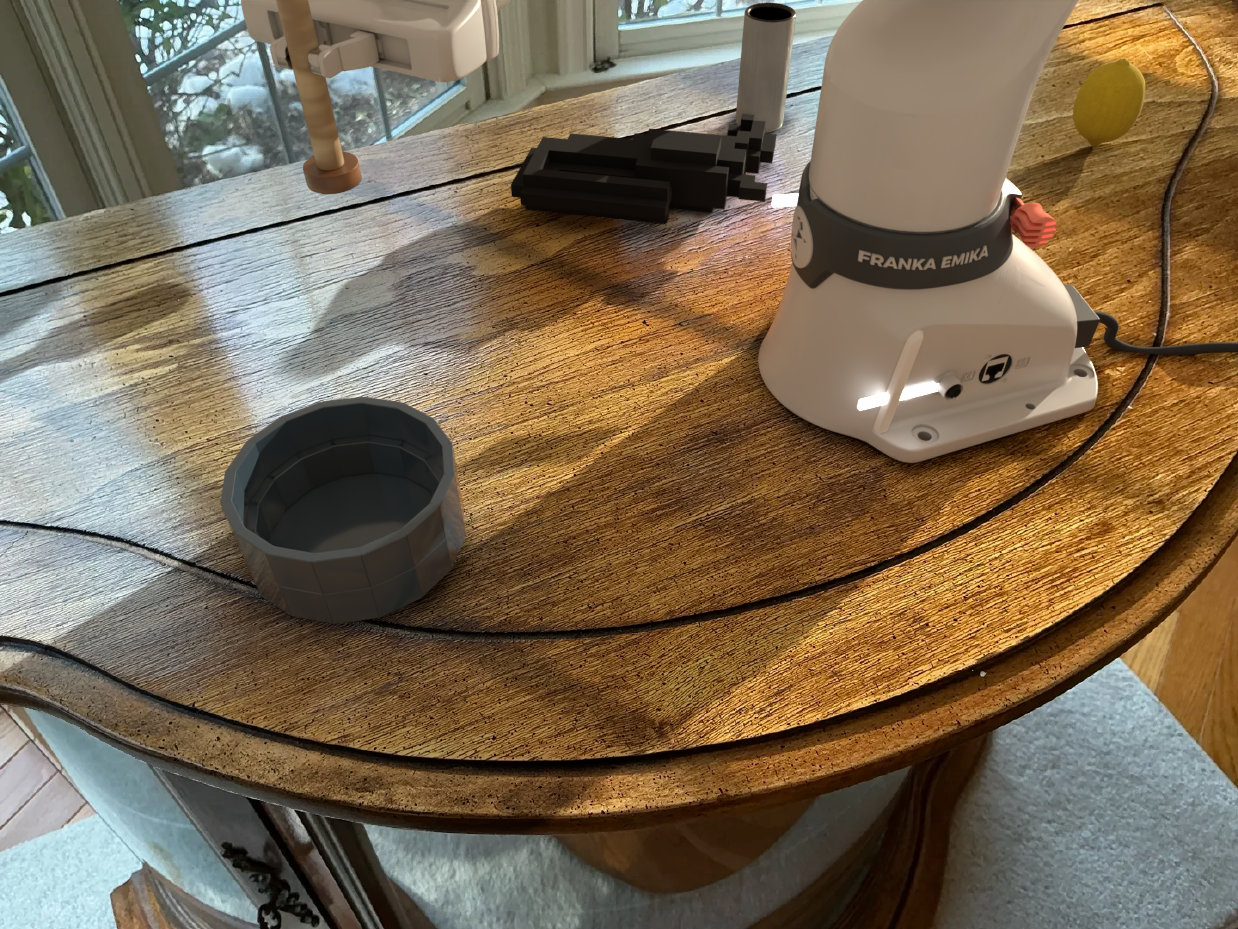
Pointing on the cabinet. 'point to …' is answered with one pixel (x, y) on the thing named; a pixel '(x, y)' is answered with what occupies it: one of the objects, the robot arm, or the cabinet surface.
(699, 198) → the tool
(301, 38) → the stirring stick
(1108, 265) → the cabinet surface
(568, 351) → the cabinet surface
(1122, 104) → the lemon
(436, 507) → the bowl
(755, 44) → the light grey tube
